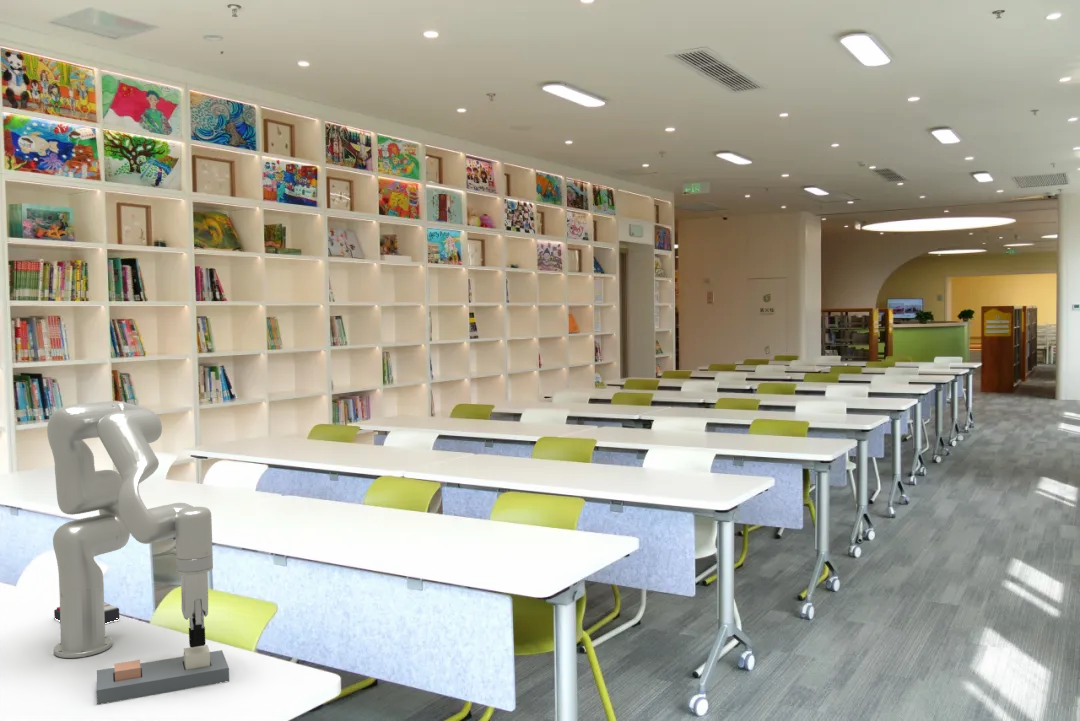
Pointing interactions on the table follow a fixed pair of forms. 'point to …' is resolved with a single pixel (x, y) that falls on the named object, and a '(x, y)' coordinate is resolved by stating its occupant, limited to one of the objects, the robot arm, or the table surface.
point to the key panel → (161, 678)
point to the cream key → (196, 657)
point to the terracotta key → (127, 670)
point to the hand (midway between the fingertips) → (197, 645)
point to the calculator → (109, 613)
